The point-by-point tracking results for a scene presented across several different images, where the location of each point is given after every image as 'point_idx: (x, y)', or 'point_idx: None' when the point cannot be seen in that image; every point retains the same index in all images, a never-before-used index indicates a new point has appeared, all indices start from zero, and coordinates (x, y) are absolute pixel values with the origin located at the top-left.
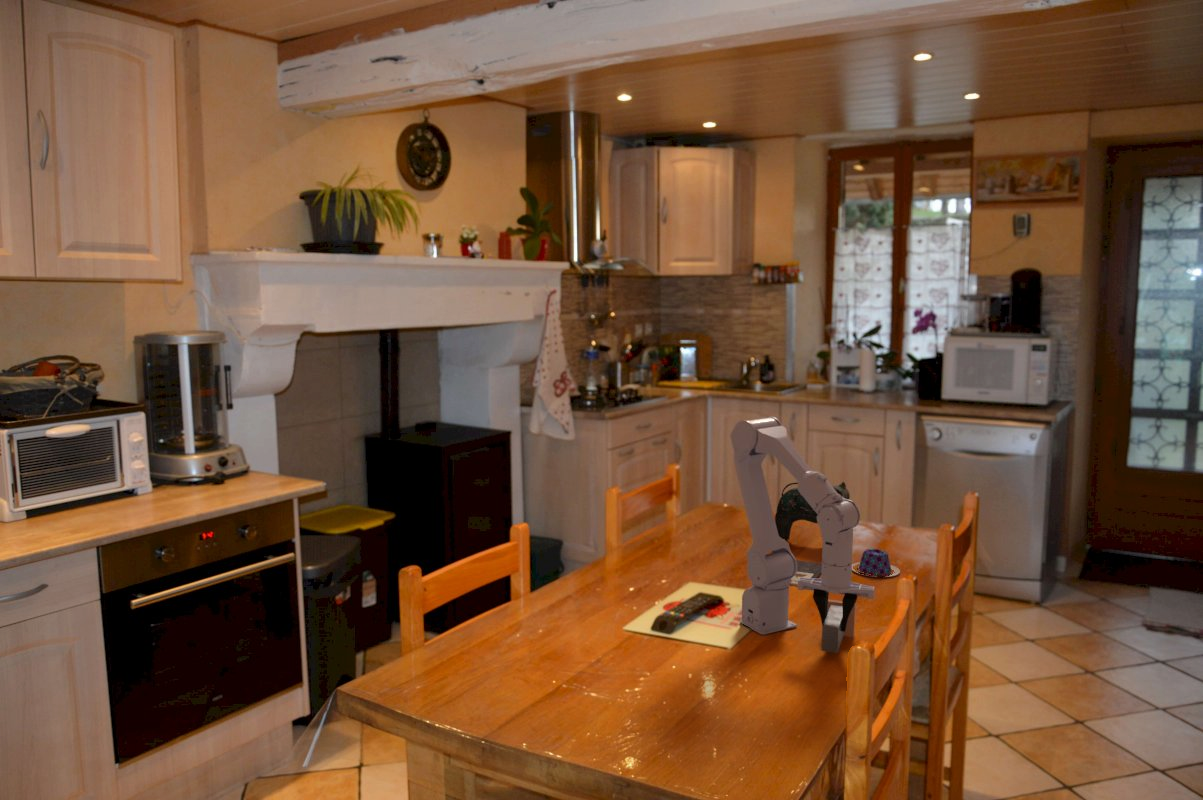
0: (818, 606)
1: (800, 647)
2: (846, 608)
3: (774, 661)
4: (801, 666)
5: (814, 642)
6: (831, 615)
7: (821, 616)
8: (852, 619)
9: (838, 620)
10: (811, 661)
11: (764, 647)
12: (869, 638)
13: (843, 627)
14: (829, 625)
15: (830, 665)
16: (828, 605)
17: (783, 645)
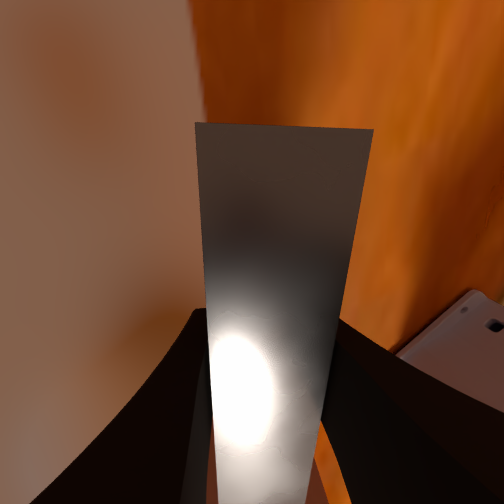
0: (491, 414)
1: (357, 246)
2: (113, 502)
3: (467, 60)
4: (358, 39)
5: None
6: (294, 390)
7: (369, 342)
8: None
9: (230, 328)
10: (316, 122)
11: (480, 197)
12: None
13: (197, 318)
14: (300, 169)
15: (233, 105)
16: (310, 498)
17: (413, 240)
